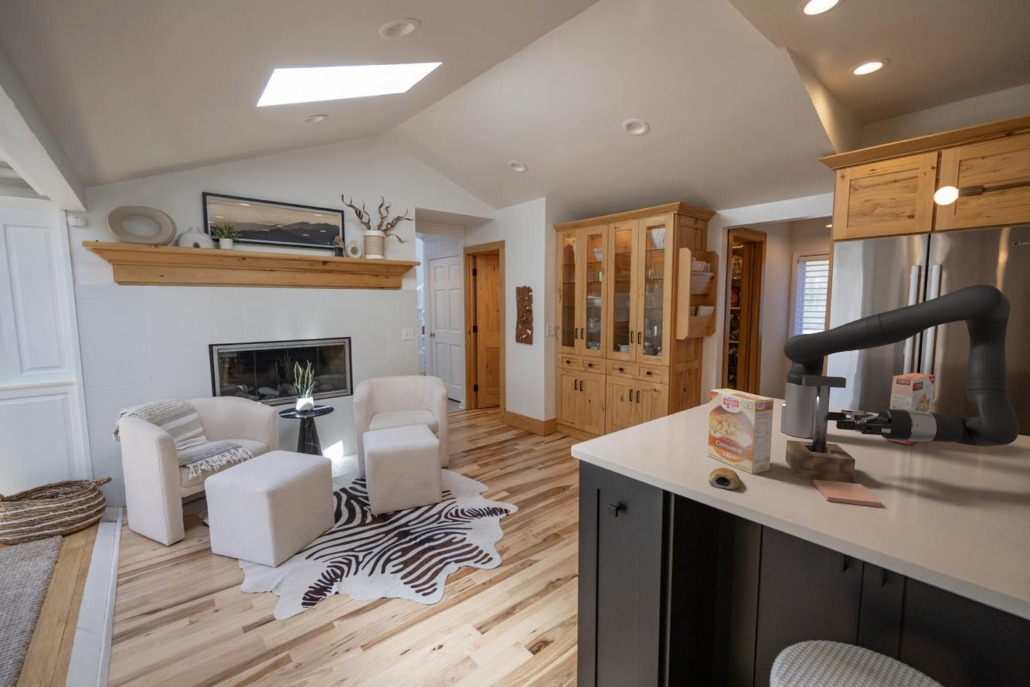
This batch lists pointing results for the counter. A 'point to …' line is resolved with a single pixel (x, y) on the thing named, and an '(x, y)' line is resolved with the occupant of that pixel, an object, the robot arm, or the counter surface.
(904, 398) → the cracker box
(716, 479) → the pastry
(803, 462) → the block
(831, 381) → the key
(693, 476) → the counter surface
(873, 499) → the pad
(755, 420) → the coffeecake box
